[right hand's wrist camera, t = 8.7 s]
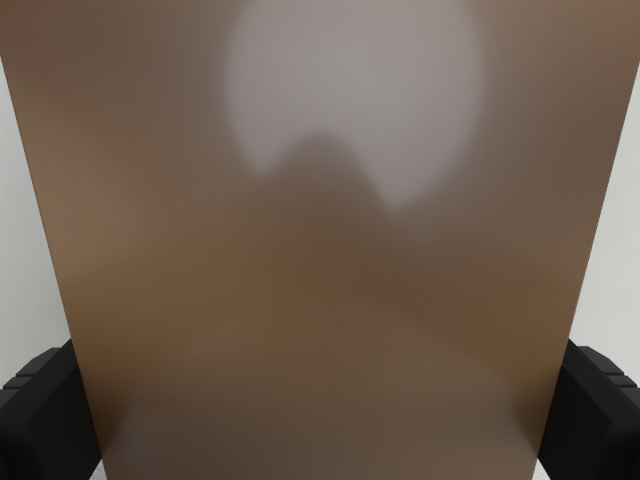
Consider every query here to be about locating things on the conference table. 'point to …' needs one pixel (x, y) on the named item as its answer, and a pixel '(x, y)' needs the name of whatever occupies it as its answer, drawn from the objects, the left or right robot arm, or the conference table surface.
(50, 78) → the cabinet
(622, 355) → the conference table surface
